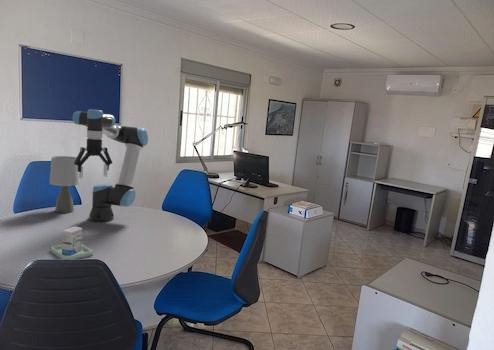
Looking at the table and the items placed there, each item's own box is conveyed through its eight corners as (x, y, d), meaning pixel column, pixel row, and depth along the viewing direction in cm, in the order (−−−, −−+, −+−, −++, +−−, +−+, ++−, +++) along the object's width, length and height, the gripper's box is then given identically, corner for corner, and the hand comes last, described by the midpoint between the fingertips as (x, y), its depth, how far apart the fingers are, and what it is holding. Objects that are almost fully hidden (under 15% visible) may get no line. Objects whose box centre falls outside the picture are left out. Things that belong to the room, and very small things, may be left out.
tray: (78, 245, 176) (78, 241, 176) (92, 255, 166) (92, 251, 166) (50, 251, 166) (50, 246, 166) (64, 262, 156) (64, 257, 156)
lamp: (58, 216, 219) (59, 160, 213) (43, 210, 228) (43, 156, 223) (85, 211, 235) (86, 159, 229) (69, 206, 244) (71, 155, 239)
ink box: (70, 255, 161) (70, 232, 160) (61, 254, 162) (61, 230, 161) (82, 249, 170) (83, 227, 168) (73, 248, 171) (74, 225, 169)
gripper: (112, 138, 194) (111, 174, 197) (67, 137, 174) (66, 177, 178) (119, 139, 189) (118, 176, 192) (73, 138, 170) (73, 179, 173)
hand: (93, 177), depth 185 cm, fingers open, 13 cm apart
